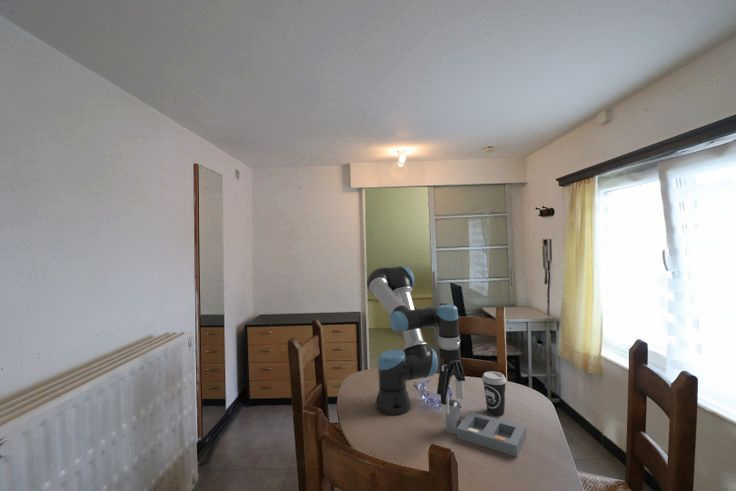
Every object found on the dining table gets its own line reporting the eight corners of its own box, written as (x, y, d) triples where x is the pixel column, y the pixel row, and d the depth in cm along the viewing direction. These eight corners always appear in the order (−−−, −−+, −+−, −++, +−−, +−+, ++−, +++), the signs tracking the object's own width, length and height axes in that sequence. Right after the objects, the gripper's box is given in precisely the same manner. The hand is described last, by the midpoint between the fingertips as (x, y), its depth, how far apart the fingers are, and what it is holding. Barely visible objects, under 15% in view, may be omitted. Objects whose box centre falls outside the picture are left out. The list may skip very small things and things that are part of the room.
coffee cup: (510, 418, 130) (508, 380, 130) (485, 417, 132) (483, 379, 132) (505, 406, 139) (503, 371, 139) (481, 405, 141) (480, 370, 141)
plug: (446, 431, 123) (444, 402, 123) (450, 426, 126) (449, 398, 126) (456, 434, 120) (455, 404, 120) (460, 429, 123) (459, 400, 124)
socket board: (457, 438, 118) (456, 427, 118) (471, 420, 129) (470, 411, 129) (517, 457, 106) (516, 445, 106) (526, 436, 117) (526, 425, 117)
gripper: (445, 358, 111) (448, 422, 111) (471, 340, 131) (474, 394, 130) (425, 355, 116) (428, 416, 115) (453, 338, 136) (456, 390, 135)
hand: (453, 405), depth 123 cm, fingers open, 13 cm apart
